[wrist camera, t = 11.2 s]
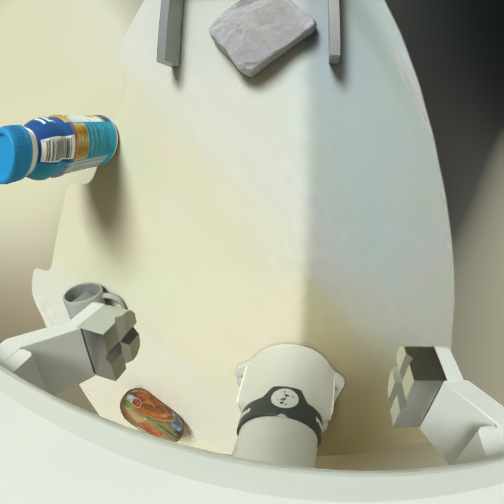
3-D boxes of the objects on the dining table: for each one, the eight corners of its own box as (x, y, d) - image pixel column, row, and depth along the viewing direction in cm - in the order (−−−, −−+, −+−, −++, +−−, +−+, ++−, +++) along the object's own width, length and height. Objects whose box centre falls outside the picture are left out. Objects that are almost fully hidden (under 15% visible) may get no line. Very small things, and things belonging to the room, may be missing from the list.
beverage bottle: (100, 177, 46) (3, 207, 28) (73, 142, 45) (-23, 160, 27) (129, 138, 43) (27, 152, 25) (100, 103, 42) (-1, 104, 23)
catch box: (338, 63, 34) (340, 55, 30) (171, 67, 38) (156, 61, 34) (335, -30, 28) (336, -46, 24) (178, -21, 33) (165, -32, 28)
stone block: (211, 42, 38) (253, 85, 37) (196, 28, 33) (240, 73, 33) (275, -6, 34) (323, 33, 33) (266, -24, 29) (318, 15, 29)
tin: (189, 422, 62) (176, 449, 55) (182, 426, 64) (169, 453, 56) (135, 380, 61) (116, 406, 53) (129, 385, 62) (111, 410, 55)
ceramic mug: (89, 317, 57) (67, 337, 50) (79, 280, 55) (54, 298, 48) (132, 324, 55) (111, 347, 48) (122, 284, 53) (98, 305, 45)
